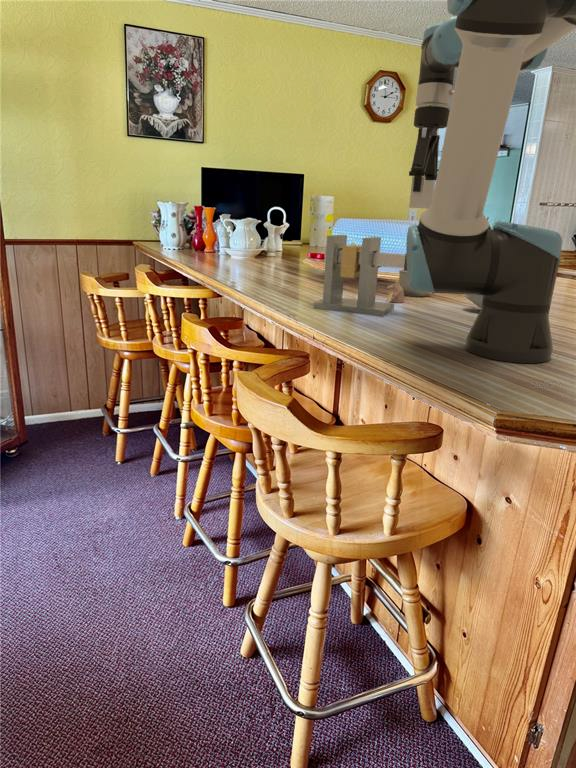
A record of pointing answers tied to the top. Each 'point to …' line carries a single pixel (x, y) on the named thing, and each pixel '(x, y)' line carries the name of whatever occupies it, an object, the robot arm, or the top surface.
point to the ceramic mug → (475, 299)
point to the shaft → (380, 259)
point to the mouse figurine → (396, 293)
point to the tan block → (350, 261)
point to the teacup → (408, 285)
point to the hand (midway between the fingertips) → (420, 208)
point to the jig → (366, 280)
